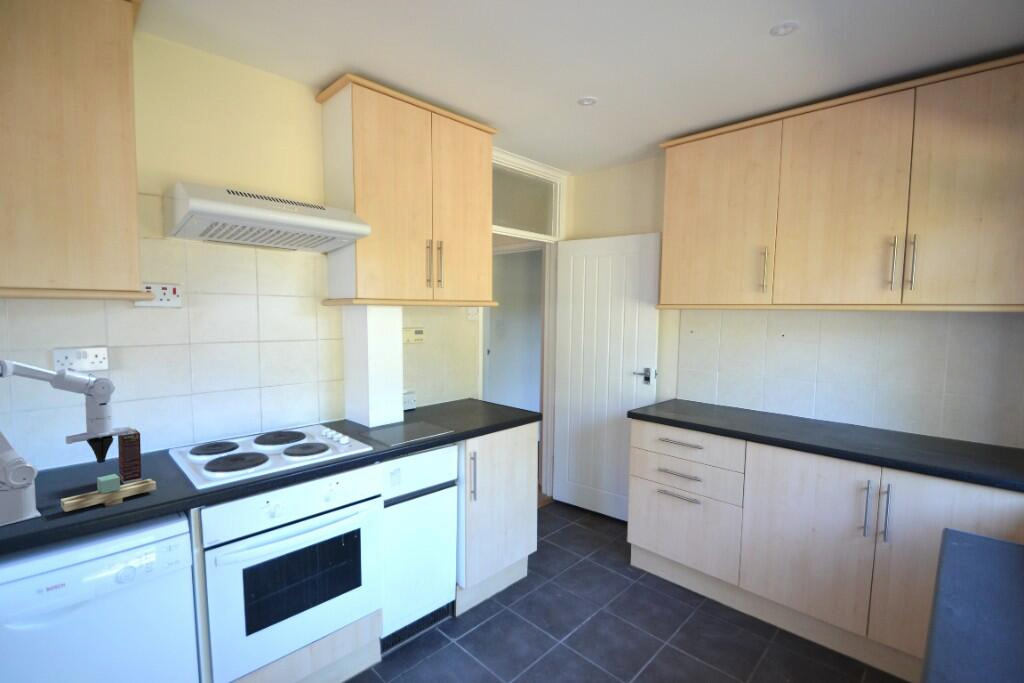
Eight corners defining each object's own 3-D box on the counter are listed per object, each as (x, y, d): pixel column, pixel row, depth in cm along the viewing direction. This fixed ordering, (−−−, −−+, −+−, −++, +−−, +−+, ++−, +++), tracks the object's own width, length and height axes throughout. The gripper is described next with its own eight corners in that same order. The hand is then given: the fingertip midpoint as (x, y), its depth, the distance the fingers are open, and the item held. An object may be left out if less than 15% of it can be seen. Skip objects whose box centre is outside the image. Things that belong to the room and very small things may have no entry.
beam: (66, 516, 122) (65, 504, 122) (60, 510, 126) (60, 498, 126) (157, 493, 139) (156, 482, 138) (149, 488, 142) (149, 477, 142)
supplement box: (142, 480, 149) (140, 432, 148) (123, 484, 145) (121, 435, 145) (137, 474, 155) (135, 428, 154) (118, 478, 151) (116, 430, 150)
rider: (102, 497, 129) (101, 481, 129) (97, 494, 132) (97, 477, 131) (120, 493, 132) (119, 477, 132) (115, 489, 135) (114, 473, 135)
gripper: (68, 423, 128) (71, 471, 129) (134, 415, 140) (135, 458, 141) (63, 420, 132) (65, 466, 133) (126, 411, 144) (128, 454, 145)
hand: (101, 462), depth 137 cm, fingers closed
